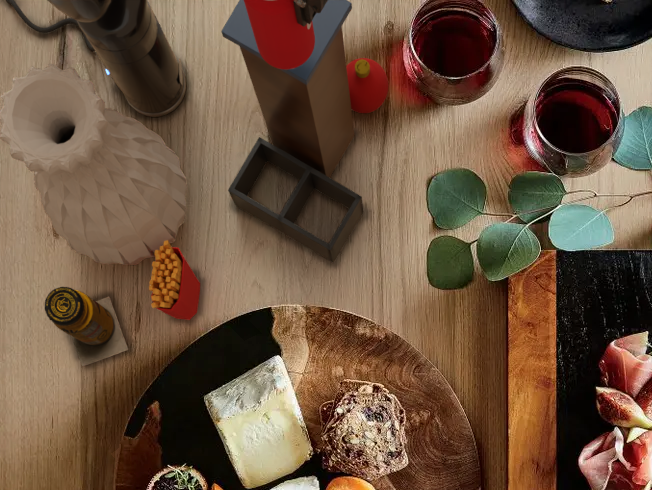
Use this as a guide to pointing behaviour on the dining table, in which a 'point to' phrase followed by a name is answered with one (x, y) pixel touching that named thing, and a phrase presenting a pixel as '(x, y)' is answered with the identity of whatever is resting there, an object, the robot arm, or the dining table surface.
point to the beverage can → (280, 33)
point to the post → (307, 108)
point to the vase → (94, 167)
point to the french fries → (174, 284)
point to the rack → (295, 198)
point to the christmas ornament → (366, 85)
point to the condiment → (86, 323)
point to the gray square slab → (323, 26)
